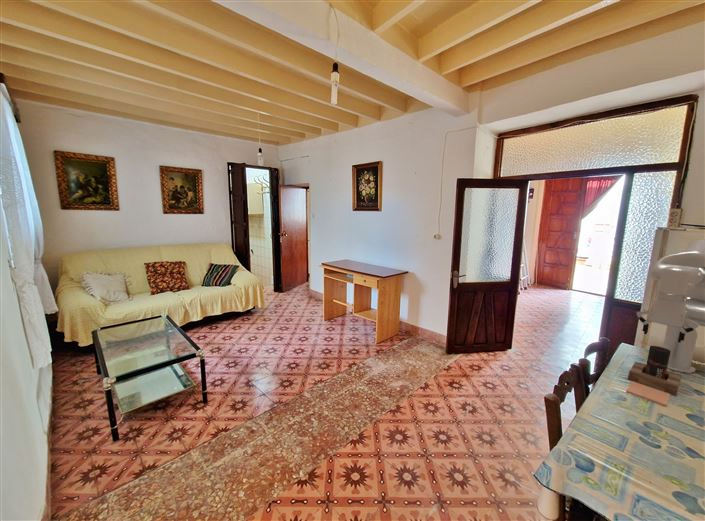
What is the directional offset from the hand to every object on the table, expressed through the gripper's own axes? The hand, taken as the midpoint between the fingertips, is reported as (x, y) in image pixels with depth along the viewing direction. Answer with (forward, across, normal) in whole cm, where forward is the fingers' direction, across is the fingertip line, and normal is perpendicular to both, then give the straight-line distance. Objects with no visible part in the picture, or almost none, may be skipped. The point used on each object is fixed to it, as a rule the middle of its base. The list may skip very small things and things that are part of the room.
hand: (661, 337), depth 119 cm
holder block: (+20, 0, -1) cm, 20 cm away
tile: (+20, 0, +13) cm, 24 cm away
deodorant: (+20, 0, -1) cm, 20 cm away
